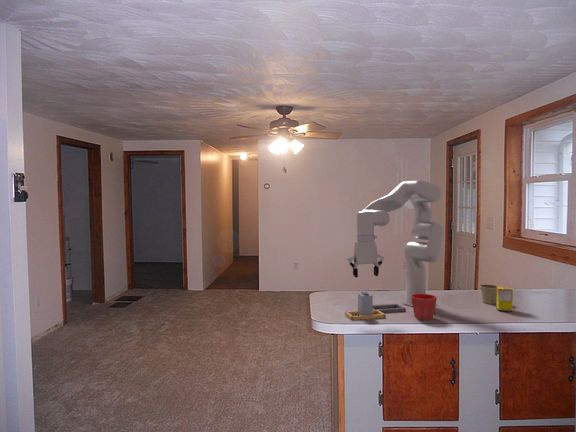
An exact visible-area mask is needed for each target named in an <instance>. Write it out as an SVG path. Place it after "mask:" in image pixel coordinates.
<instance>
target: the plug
mask: <svg viewBox="0 0 576 432" xmlns="http://www.w3.org/2000/svg"><path fill="white" fill-rule="evenodd" d="M373 297H374V296H373V294H371V293H369V292H367V291H361V292H358V293H357V311H358V315H359V316H360V315H374V314H373V305H374V304H373V301H374V300H373ZM358 315H357V316H358Z"/></svg>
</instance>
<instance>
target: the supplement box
mask: <svg viewBox="0 0 576 432" xmlns="http://www.w3.org/2000/svg"><path fill="white" fill-rule="evenodd" d="M496 286H497V302H496V309H497V311H498V312H501V313H502V312H505V313H513V300H514V299H513V298H514V297H513V293H514V292H513V288H511V287H510V286H499V285H496Z"/></svg>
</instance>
